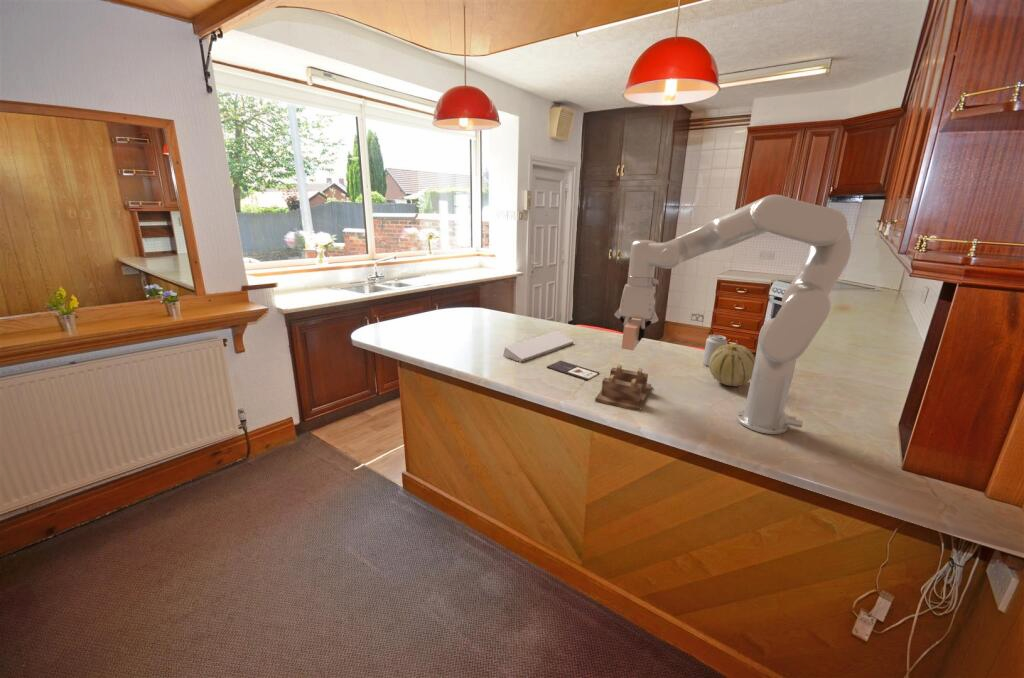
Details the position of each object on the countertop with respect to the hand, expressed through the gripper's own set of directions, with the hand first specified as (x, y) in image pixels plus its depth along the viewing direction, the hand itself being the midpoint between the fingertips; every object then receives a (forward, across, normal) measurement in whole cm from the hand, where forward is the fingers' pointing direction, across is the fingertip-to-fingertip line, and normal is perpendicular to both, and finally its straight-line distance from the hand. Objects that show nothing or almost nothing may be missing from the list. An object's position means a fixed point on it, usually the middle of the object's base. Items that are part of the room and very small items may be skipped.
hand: (633, 338), depth 132 cm
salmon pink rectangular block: (+1, 0, 0) cm, 1 cm away
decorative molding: (+22, +44, -27) cm, 55 cm away
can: (+20, -24, -43) cm, 53 cm away
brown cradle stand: (+20, +1, 0) cm, 20 cm away
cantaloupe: (+20, -30, -26) cm, 44 cm away
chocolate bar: (+21, +23, -11) cm, 33 cm away
